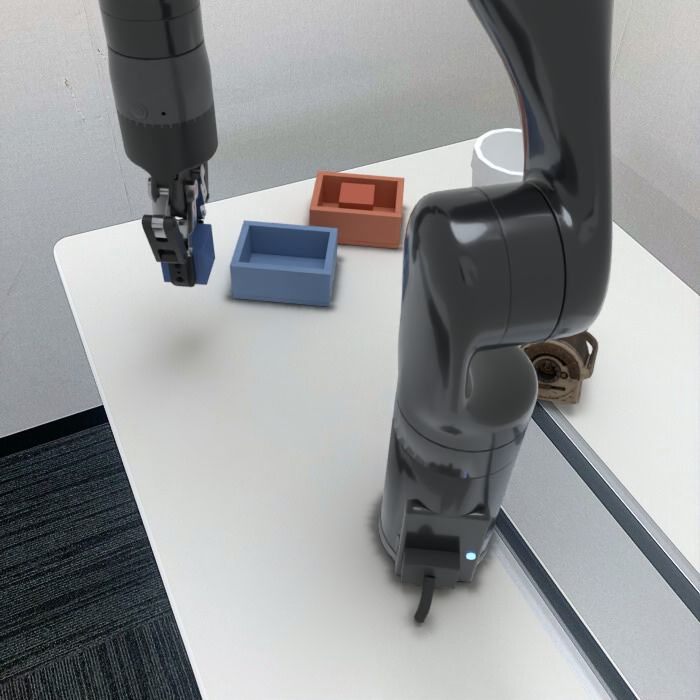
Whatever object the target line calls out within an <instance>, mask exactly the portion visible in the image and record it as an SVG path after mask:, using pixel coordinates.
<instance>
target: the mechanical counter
mask: <svg viewBox="0 0 700 700" xmlns="http://www.w3.org/2000/svg"><path fill="white" fill-rule="evenodd" d="M588 330H589V328H588V329H586V330H585V331H583V332H581V333H578V334H576V335H573V336H569V337H565V338H560V339H554V340H549V341H543V342H537V343H532V344H525V345H519V347H520V348H521V349H522V350H523V351H524V352H525V353H526V354H527V356H528V357H529V359H530V361H531V362H532V364H533V366H534V368H535V371H536V374H537V379H538V395H537V400H543V401H549V402H554V403H561V404H562V403H563V404H569V405H579V404H580V398H581V395H582V386H583V381H584V380H588V379H591V377H592V375H593V373H594V370H595V364H596V360H597V356H598V352H599V342H598V340H597V338H596V337H595V336H594V335H593V334H592V333H590V332H589V331H588ZM588 344H589V345H590V346H591V348H592V349H591V353H590V351H589V346H588Z"/></svg>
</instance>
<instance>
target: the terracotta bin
mask: <svg viewBox="0 0 700 700" xmlns="http://www.w3.org/2000/svg"><path fill="white" fill-rule="evenodd" d="M316 172H317V173H316V177H315V180H314V181H315V182H314V187H313V190H312V196H311V200H310V206H309V210H308V211H309V212H308V213H309V215H308V217H309V219H308V220H309V223H308V224H309V225H308V226H316V227H328V228H338V242H337V245H338V244H340V245H349V246H361V247H363V246H364V247H373V248H385V249H397V250H398V249H399V248H400V246H399V245H400V237H401V228H402V218H403V205H404V190H405V177H398V176H385V175H375V174H373V175H372V174H361V173H349V172H338V171H337V172H336V171H327V170H317V171H316ZM342 183H355V184H369V185H375V192H374V205H373V211H368V210H356V209H344V208H339V197H340V191H341V184H342Z"/></svg>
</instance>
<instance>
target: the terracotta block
mask: <svg viewBox="0 0 700 700" xmlns="http://www.w3.org/2000/svg"><path fill="white" fill-rule="evenodd" d="M374 192H375V185H369V184H355V183H342V184H341V191H340V197H339V208H344V209H356V210H368V211H373V205H374Z"/></svg>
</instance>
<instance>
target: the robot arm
mask: <svg viewBox="0 0 700 700" xmlns="http://www.w3.org/2000/svg"><path fill="white" fill-rule="evenodd" d="M97 1H98V5H99V11H100V16H101V22H102V27H103V33H104V37H105V43H106V47H107V61H108V62H107V63H108V73H109V80H110V85H111V89H112V95H113V99H114V105H115V111H116V114H117V120H118V125H119V129H120V130H119V131H120V135H121V141H122V145H123V149H124V153H125V156H126V157H127V158H128V159H129V161H130V162H131V163H133V164H134V165H136V166H137V167H138V168H141V169H142V170H144V172H146V173H148V175H150V176H149V177H147V195H148V197H149V199H150V200H151V206H152V214H145V213H144V214H143V215H142V218H141V226H142V227H141V228H142V230H143V232H144V235H145V238H146V239H147V242H148V244H149V247H150V249H151V252H152V255H153V256H154V259H155V261H156V263H161V262H163V263H168V267H169V272H170V278H171V282H170V283H171V284H172V285H173V286H175V287H185V288H194V287H195V285H196V284H195V283H196V280H197V278H196V271H195V264H194V257H193V245H192V232H193V231H194V229H195V228H196V226H197V223H201V224H205V221H204V220H205V219H206V215H207V210H206V205H205V203H207V204H208V202H209V199H210V193H209V161H210V160H211V159H212V158H213V157H214V155H215V154H216V152H217V151H218V147H219V137H218V129H217V128H218V127H217V118H216V109H215V99H214V98H215V97H214V88H213V77H212V70H211V64H210V59H209V55H208V54H209V53H208V51H207V46H206V41H205V33H204V24H203V16H202V5H201V0H97ZM466 2H467V3H468V5H469V7H470V9H471V10H472V12H473V13H474V15H475V17H476V18H477V20H478V21H479V23H480V25H481V26H482V28H483V30H484V32H485V33H486V35H487V36H488V38H489V40H490V41H491V43H492V46H493V47H494V49H495V51H496V53H497V54H498V56H499V58H500V60H501V62H502V65H503V67H504V70H505V71H506V74H507V76H508V79H509V81H510V84H511V87H512V89H513V93H514V96H515V100H516V104H517V108H518V115H519V120H520V127H521V128H520V129H522V137H523V152H524V168H523V179H522V181H521V182H511V183H502V184H493V185H485V186H476V187H472V186H469V187H461V188H451V189H445V190H444V189H443V190H438V191H433V192H430V193H429V192H428V193H427V194H424V195H423V196H422V197H421V198H420V199H419V200H418V201H417V202H416V203H415V205H414V206H413V208H412V210H411V212H410V214H409V217H408V220H407V223H406V228H405V233H404V239H403V248H402V249H403V250H402V251H403V252H402V266H401V267H402V269H401V270H402V272H401V297H400V300H401V301H400V316H399V326H398V334H397V336H398V337H397V339H398V341H397V382H396V389H395V398H394V406H393V414H392V420H391V427H390V435H389V444H388V453H387V460H386V466H385V467H386V468H385V475H384V476H385V477H384V484H383V491H382V501H381V505H380V509H379V514H378V532H379V537H380V538H379V539H380V541H381V544H382V546H383V548H384V549H385V551H386V552H387V554H388V555H389V557H390V558H391V559H392V561H394V573H395V574H396V575H399V576H400V584H402V585H403V584H404V585H413V586H422V587H421V594H420V599H419V603H418V607H417V610H416V612H415V613H414V616H413V618H414V621H415V622H416V623H419V624H422V623H425V620H426V619H427V616H428V615H429V612H430V609H431V606H432V601H433V597H434V596H433V595H434V590H435V588H442V589H453V590H454V589H455V588H456V587H457V586H456V585H457V583H458V582H465V583H466V582H467V583H471V582H472V581H473V578H474V575H475V573H476V569H477V567H478V565H479V564H480V563H481V562H482V561H483V559H484V558H485V556H486V554H487V552H488V549H489V546H490V544H491V540H492V536H493V531H494V528H495V525H496V522H497V519H498V515H499V513H500V510H501V506H502V503H503V501H504V498H505V494H506V492H507V489H508V487H509V483H510V480H511V476H512V473H513V471H514V467H515V465H516V462H517V458H518V456H519V453H520V450H521V447H522V444H523V442H524V438H525V435H526V432H527V430H528V427H529V424H530V421H531V418H532V416H533V412H534V409H535V406H536V404H537V400H538V399H537V395H538V379H537V374H536V371H535V368H534V366H533V364H532V362H531V361H530V359H529V357H528V356H527V354H526V353H525V352H524V351H523V350H522V349H521V348H520V346H521V345H525V344H532V343H537V342H543V341H549V340H554V339H560V338H565V337H569V336H573V335H576V334H578V333H581V332H583V331H585V330H586V329H588V330H589V328H590V327H591V326H592V325H593V324H594V323H595V322H596V320H597V319H598V318H599V316H600V314H601V312H602V310H603V307H604V304H605V301H606V297H607V294H608V291H609V285H610V280H611V271H612V262H613V261H612V260H613V239H614V237H613V233H614V231H613V227H614V225H613V221H614V219H613V218H614V217H613V213H614V212H613V210H614V209H613V159H612V158H613V157H612V155H613V154H612V152H613V151H612V49H613V30H614V29H613V28H614V10H615V9H614V8H615V0H466ZM181 233H182V234H183V238H182V235H181Z"/></svg>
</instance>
